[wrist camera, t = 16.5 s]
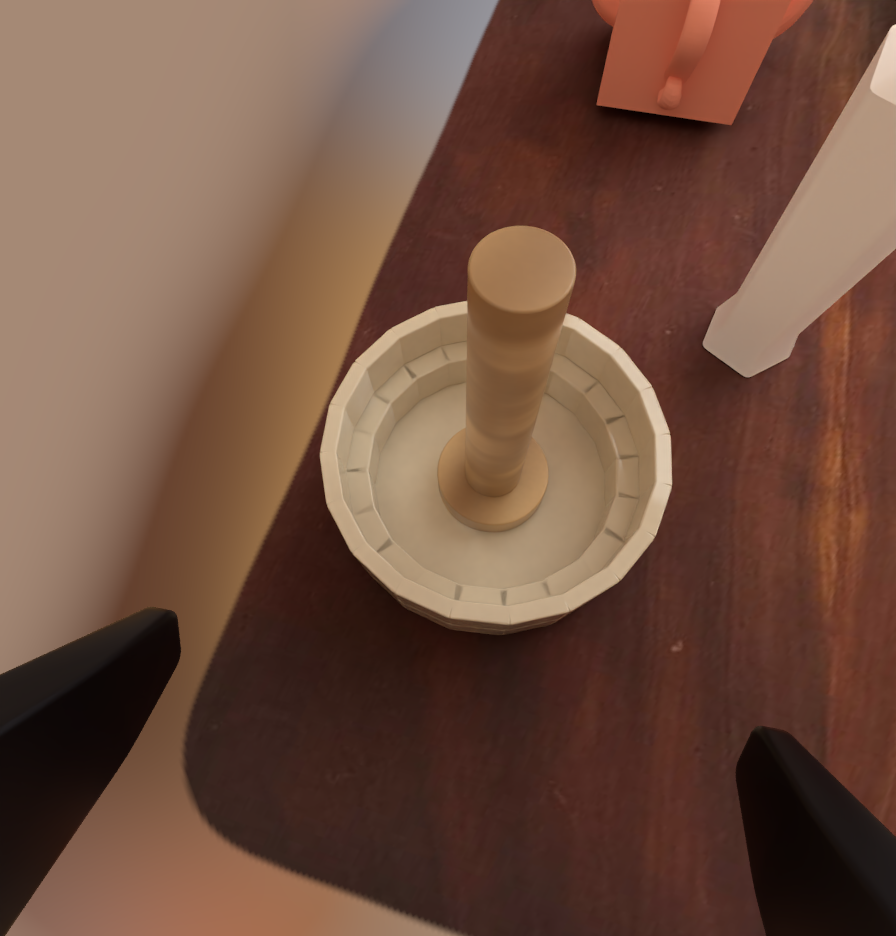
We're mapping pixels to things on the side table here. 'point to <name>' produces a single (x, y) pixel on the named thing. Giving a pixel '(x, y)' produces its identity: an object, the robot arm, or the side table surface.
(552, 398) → the bowl
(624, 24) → the teapot
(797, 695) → the side table surface
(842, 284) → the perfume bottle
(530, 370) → the tan post
